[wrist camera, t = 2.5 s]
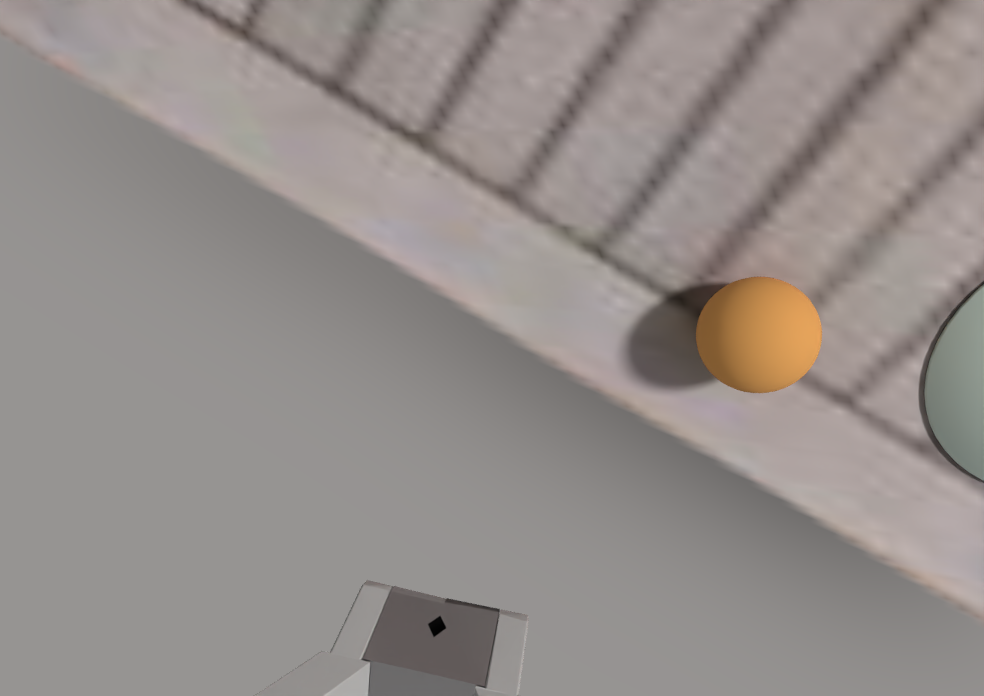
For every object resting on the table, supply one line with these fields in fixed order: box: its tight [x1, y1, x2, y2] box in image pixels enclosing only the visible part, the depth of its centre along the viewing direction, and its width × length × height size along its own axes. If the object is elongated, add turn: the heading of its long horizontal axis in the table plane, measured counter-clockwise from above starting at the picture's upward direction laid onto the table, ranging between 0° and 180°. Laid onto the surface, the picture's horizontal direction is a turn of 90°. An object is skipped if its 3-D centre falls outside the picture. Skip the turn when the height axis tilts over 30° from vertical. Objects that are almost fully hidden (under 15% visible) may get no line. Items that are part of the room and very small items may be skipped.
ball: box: [696, 277, 822, 393], centre depth 27 cm, size 5×5×5 cm
